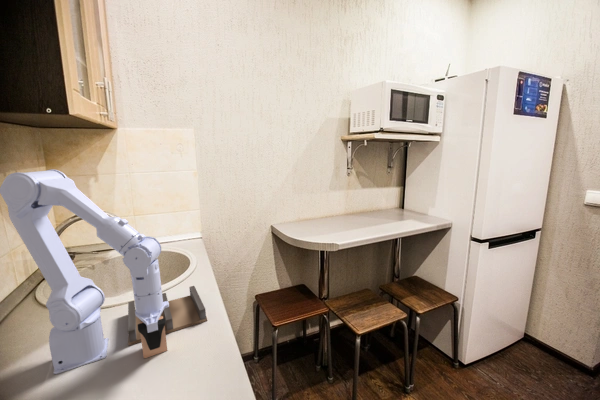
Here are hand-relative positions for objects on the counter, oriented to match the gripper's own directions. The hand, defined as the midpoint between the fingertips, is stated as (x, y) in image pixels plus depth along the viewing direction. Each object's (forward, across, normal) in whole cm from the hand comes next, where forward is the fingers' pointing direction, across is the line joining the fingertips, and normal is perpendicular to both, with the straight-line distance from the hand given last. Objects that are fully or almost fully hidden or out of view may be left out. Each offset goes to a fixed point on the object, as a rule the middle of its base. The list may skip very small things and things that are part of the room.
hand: (154, 342), depth 67 cm
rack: (+2, +13, -4) cm, 14 cm away
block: (+2, 0, 0) cm, 2 cm away
